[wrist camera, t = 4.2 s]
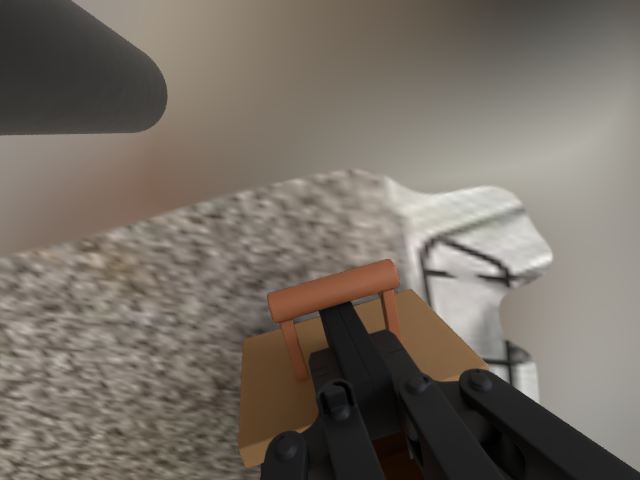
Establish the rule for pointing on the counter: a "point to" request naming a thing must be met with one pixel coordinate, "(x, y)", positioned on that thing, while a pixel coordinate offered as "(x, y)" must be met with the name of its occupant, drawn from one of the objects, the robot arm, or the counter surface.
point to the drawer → (308, 336)
